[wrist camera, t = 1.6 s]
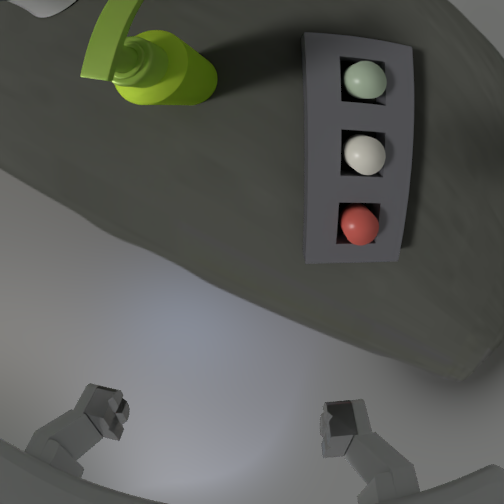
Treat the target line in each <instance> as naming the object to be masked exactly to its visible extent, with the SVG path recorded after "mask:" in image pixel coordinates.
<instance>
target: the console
mask: <svg viewBox="0 0 504 504" xmlns="http://www.w3.org/2000/svg"><path fill="white" fill-rule="evenodd" d="M301 49H302V69H303V95H304V160H305V163H304V229H303V255H304V260H305V264H309V263H353V262H390V261H398V258H399V253H400V248H401V242H402V237H403V231H404V224H405V218H406V211H407V203H408V195H409V187H410V177H411V166H412V153H413V135H414V71H413V53H412V47H410V46H406V45H401V44H397V43H392V42H387V41H381V40H375V39H369V38H362V37H355V36H347V35H337V34H326V33H311V32H304V34H303V35H302V37H301ZM340 61H347V62H356V63H358V62H360V61H370V62H373V63H375V64H377V65H378V66H379V67H380V68H381V69H382V70H383V72H384V73H385V76H386V79H387V85H386V89H385V91H384V92H383V94H382V95H380V96H379V97H377V98H376V104H367V103H356V102H343V101H341V75H340ZM341 129H343V130H359V131H372V132H376V140H378V141H379V142H380V143H381V144H382V145H383V147H384V150H385V154H386V158H385V163H384V165H383V167H382V168H381V169H380V170H379V171H378V172H377V173H375V174H372V175H363V174H360V173H359V172H357V171H349V170H341ZM339 203H372V206H371V212H372V214H373V215H374V216H375V217H376V218H377V220H378V223H379V231H378V234H377V236H376V237H375V239H374V240H373V241H371V242H370V243H368V244H366V245H355V244H352V243H351V242H350V241H349V240H348V239H347V237H346V236H345V234H344V233H337V225H338V211H339Z"/></svg>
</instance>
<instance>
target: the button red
mask: <svg viewBox="0 0 504 504" xmlns="http://www.w3.org/2000/svg"><path fill="white" fill-rule="evenodd" d="M339 224H340V227H341V229H342V230H343V232H344V234H345V236H346V237H347V239H348V240H349V241H350V242H351V243H352V244H355V245H366V244H368V243H370V242H371V241H373V240H374V239H375V237H376V236H377V234H378V231H379V223H378V220H377V218H376V217H375V216H374V215H373V214H372V212H371V211H370V210H369V209H368V208H367V207H366V206H365V205H363V204H360V203H352V204H349V205H347V206H346V207H345V208H344V209H343V210H342V211H341V213H340V216H339Z"/></svg>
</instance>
